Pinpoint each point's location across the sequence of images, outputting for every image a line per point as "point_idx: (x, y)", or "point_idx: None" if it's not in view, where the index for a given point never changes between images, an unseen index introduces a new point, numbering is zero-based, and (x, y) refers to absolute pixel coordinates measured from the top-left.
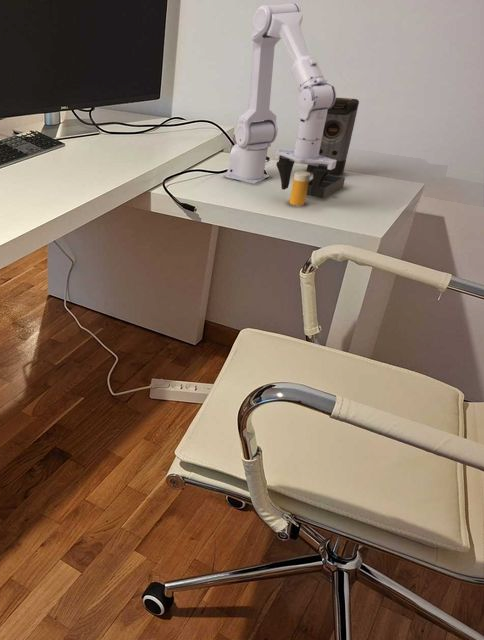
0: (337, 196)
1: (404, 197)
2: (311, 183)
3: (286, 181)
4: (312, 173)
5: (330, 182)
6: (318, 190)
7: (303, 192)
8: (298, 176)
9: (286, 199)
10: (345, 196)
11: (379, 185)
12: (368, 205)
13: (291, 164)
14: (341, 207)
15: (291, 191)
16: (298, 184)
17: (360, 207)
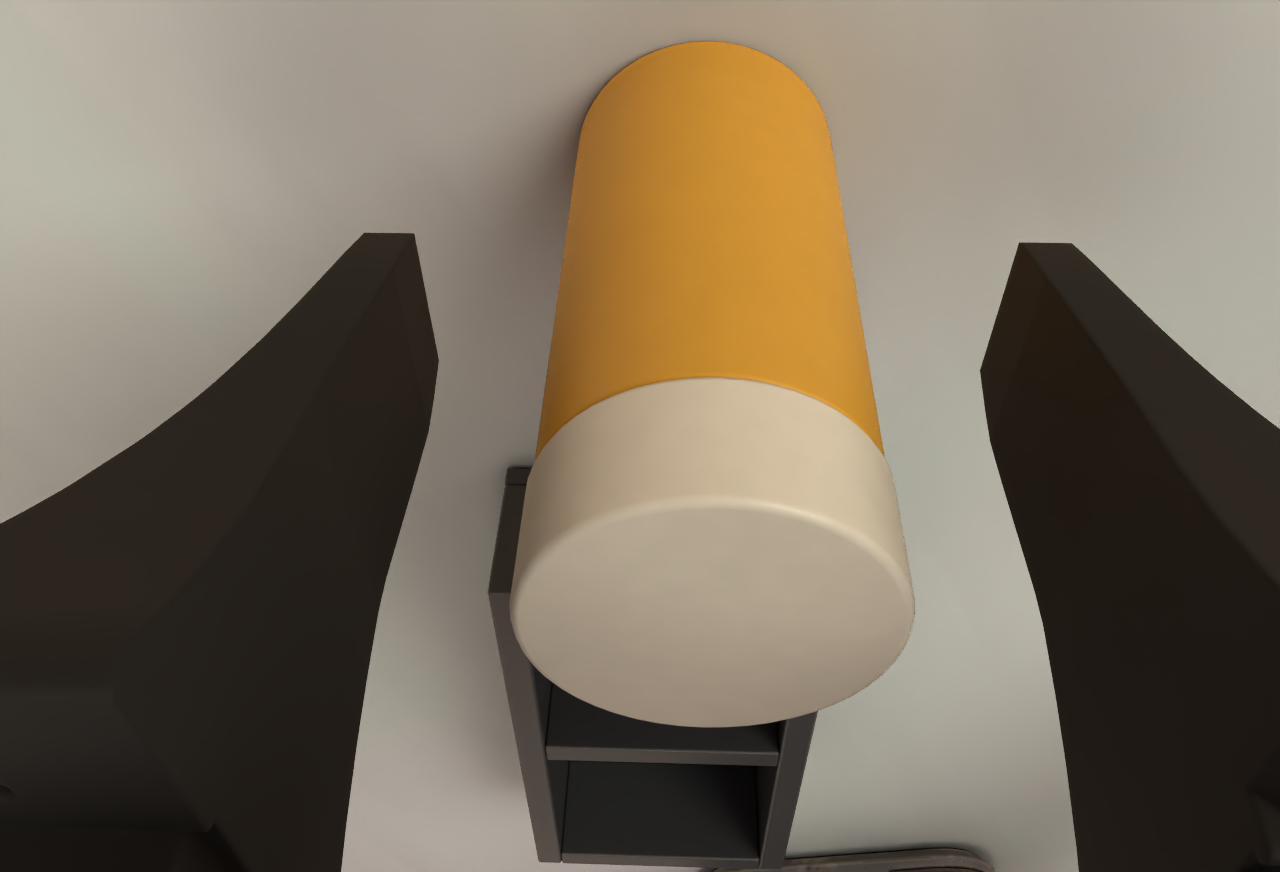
0: (457, 612)
1: None
2: None
3: (1048, 411)
4: (928, 861)
5: (572, 752)
6: None
7: (571, 260)
8: (727, 474)
9: (936, 251)
10: (399, 641)
11: (377, 866)
12: None
13: (1123, 829)
14: (176, 391)
15: (844, 247)
16: (686, 322)
17: (53, 492)
